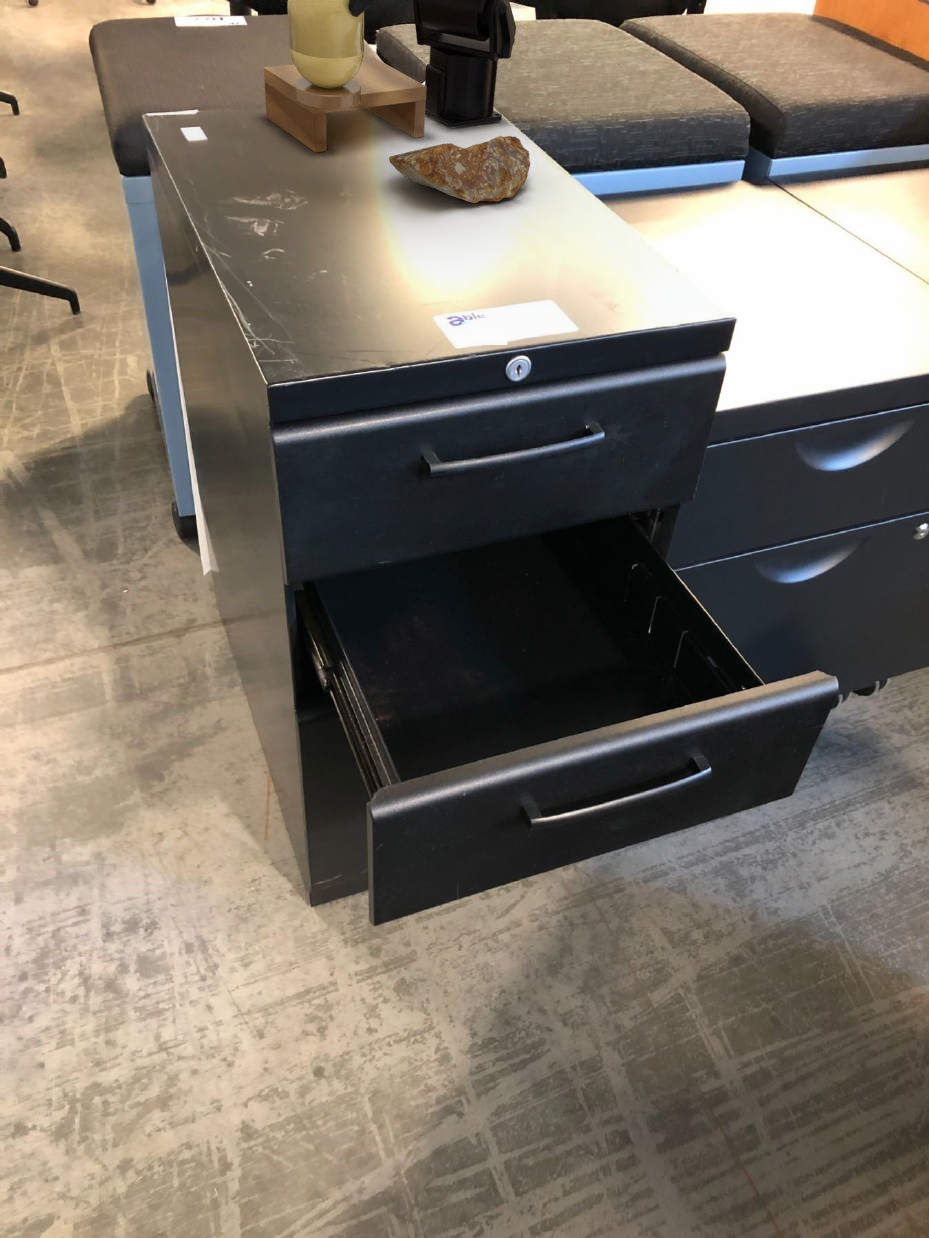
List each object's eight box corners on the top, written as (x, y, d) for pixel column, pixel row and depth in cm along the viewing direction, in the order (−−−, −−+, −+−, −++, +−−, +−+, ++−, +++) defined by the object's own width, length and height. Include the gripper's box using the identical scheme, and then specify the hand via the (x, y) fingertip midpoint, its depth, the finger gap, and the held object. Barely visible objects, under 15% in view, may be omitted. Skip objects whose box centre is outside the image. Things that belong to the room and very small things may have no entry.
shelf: (371, 105, 100) (372, 56, 97) (424, 136, 95) (426, 86, 92) (266, 118, 95) (263, 67, 92) (315, 152, 89) (314, 100, 86)
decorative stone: (363, 126, 81) (479, 116, 90) (359, 181, 83) (472, 166, 93) (448, 159, 76) (559, 145, 86) (440, 216, 79) (549, 196, 89)
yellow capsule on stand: (356, 86, 79) (356, -115, 69) (369, 110, 75) (371, -99, 65) (287, 87, 77) (277, -119, 68) (297, 111, 73) (288, -103, 64)
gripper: (226, -326, 64) (148, -102, 65) (483, -295, 60) (398, -54, 60) (293, -182, 75) (226, 9, 76) (515, -146, 71) (442, 57, 71)
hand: (316, 5), depth 70 cm, fingers closed on yellow capsule on stand, 5 cm apart
